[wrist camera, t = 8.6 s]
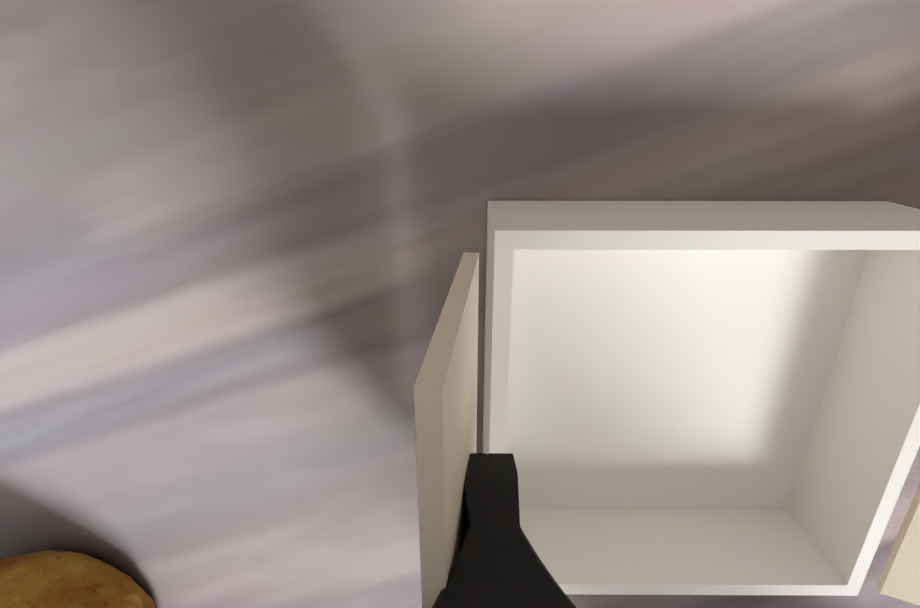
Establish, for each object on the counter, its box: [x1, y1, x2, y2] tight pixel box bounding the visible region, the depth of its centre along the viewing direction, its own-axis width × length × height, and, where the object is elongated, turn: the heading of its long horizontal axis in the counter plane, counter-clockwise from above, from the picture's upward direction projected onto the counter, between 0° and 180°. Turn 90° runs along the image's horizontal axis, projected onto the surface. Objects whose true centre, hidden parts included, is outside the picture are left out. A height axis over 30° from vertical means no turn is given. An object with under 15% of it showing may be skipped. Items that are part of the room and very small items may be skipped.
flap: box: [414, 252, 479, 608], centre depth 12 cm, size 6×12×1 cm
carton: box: [483, 201, 920, 596], centre depth 17 cm, size 13×13×4 cm
